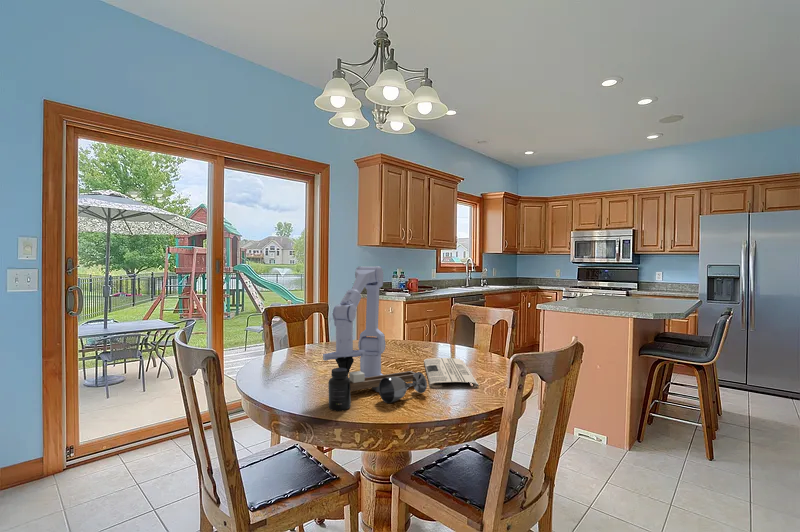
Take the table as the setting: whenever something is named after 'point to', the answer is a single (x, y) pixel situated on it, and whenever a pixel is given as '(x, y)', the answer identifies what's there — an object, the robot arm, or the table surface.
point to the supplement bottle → (339, 390)
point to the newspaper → (447, 371)
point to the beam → (375, 380)
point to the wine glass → (400, 387)
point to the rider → (356, 376)
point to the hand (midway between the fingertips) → (344, 379)
